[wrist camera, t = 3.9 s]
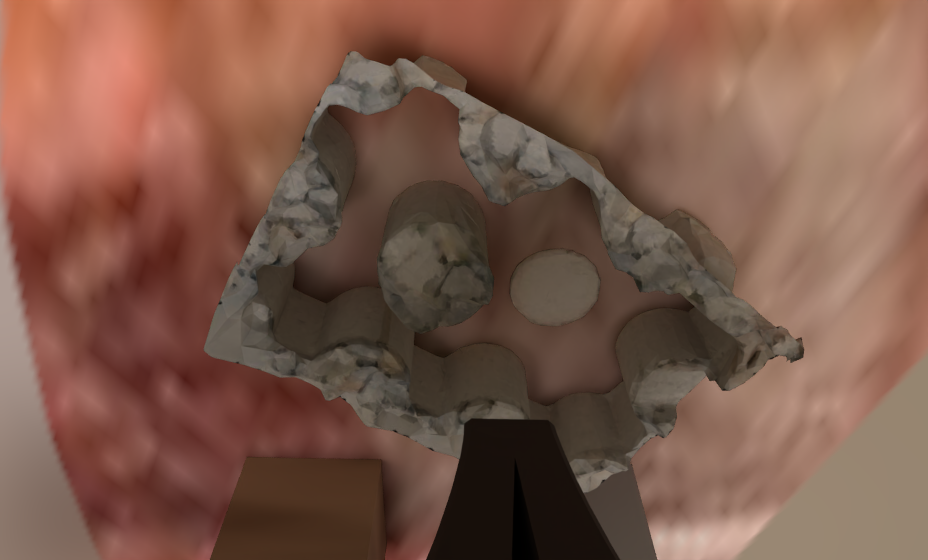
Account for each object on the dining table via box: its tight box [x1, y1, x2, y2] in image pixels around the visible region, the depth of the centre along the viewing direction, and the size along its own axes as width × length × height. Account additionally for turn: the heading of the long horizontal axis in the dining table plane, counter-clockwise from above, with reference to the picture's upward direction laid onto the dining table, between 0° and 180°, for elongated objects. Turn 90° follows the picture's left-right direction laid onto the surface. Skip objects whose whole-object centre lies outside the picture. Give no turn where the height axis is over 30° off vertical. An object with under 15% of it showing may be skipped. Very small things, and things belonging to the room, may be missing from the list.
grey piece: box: [204, 51, 804, 493], centre depth 15 cm, size 11×8×4 cm
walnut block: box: [210, 457, 387, 560], centre depth 19 cm, size 4×4×4 cm
